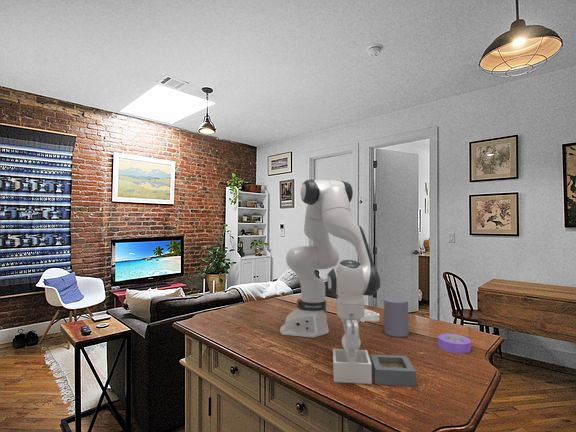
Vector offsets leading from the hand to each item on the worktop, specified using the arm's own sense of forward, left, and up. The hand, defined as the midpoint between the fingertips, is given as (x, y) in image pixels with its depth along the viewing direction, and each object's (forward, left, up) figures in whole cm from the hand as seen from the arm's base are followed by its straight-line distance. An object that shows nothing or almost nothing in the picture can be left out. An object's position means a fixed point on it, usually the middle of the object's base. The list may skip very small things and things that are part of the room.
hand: (350, 352), depth 110 cm
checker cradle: (+13, 0, -7) cm, 15 cm away
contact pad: (+13, 0, -5) cm, 14 cm away
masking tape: (+42, +28, -8) cm, 51 cm away
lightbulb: (0, 0, -5) cm, 5 cm away
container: (+23, +43, -7) cm, 49 cm away
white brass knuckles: (+11, +67, -8) cm, 69 cm away
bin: (0, 0, -7) cm, 7 cm away
